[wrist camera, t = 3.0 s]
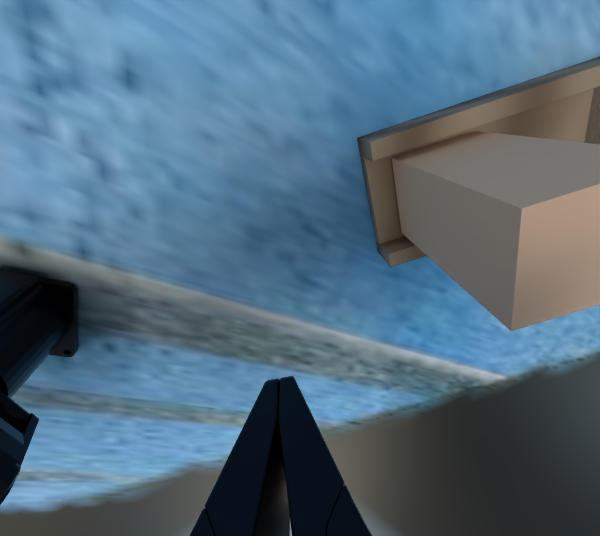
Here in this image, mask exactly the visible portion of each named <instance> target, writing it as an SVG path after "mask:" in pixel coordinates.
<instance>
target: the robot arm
mask: <svg viewBox="0 0 600 536" xmlns="http://www.w3.org/2000/svg"><path fill="white" fill-rule="evenodd" d="M65 289H66V290H68V291H69V292H67V291H66V290H65ZM77 350H78V329H77V288H76V287H75V286H74V285H73V284H70V283H66V282H61V281H56V280H50V279H45V278H40V277H35V276H30V275H25V274H20V273H14V272H9V271H4V270H0V505H1V503H2V502H3V501H4V499H5V498H6V496H7V495H8V493H9V492H10V490H11V488H12V486H13V484H14V482H15V479H16V478H17V476H18V475H19V472H20V468H21V464H22V461H23V459H24V456H25V454H26V451H27V449H28V446H29V444H30V441H31V439H32V436H33V434H34V431H35V429H36V426H37V424H38V421H39V418H37V417H36V416H35V415H34V414H32V413H31V414H29V413H28V412H27V411H25V410H24V409H23V408H22V407H20V406H19V405H18V404H17V403H15V402H14V401H13V400H12V399H10V398H11V397H12V396H13V395H14V394H15V393H16V391H17V390H18V389H19V388H20V387H21V386H22V384H23V383H24V382H25V381H26V380H27V379H28V378H29V376H30V375H31V374H32V373H33V372H34V371H35V369H36V368H37V367H38V366H39V365H40V364H41V363H42V361H43V360H44V359H45V358H46V357H47V356H48V355H56V356H63V357H72V356H74V355H75V353H76V352H77ZM205 508H206V509H203V510H202V512H201V514H200V516H199V518H198V520H197V522H196V524H195V526H194V528H193V530H192V532H191V534H190V536H289V535H290V534H289V533H290V532H289V531H290V521H291V529H292V536H372V535H371V533H370V531H369V529H368V528H367V526H366V524H365V523H364V520H363V518H362V516H361V514H360V513H359V511H358V509H357V507H356V505H355V503H354V501H353V499H352V497H351V495H350V492H349V490H348V489H347V486H345V483H344V480H343V478H342V476H341V474H340V472H339V470H338V468H337V466H336V464H335V462H334V460H333V457H332V455H331V453H330V451H329V449H328V447H327V445H326V443H325V441H324V439H323V437H322V435H321V433H320V430H319V428H318V426H317V424H316V422H315V420H314V418H313V416H312V414H311V412H310V410H309V408H308V405H307V403H306V401H305V399H304V397H303V395H302V393H301V391H300V389H299V387H298V385H297V383H296V381H295V379H294V377H293V376H289V377H284V378H281V379H280V380H279V379H272V380H268V381H266V382H265V384H264V386H263V388H262V390H261V392H260V394H259V396H258V398H257V400H256V402H255V404H254V406H253V408H252V410H251V412H250V414H249V416H248V418H247V420H246V422H245V425H244V427H243V429H242V431H241V433H240V435H239V437H238V439H237V441H236V443H235V445H234V447H233V449H232V451H231V453H230V455H229V457H228V459H227V461H226V463H225V465H224V467H223V469H222V472H221V474H220V476H219V478H218V480H217V482H216V484H215V486H214V488H213V490H212V492H211V494H210V496H209V498H208V500H207V502H206V504H205Z"/></svg>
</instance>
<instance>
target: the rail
mask: <svg viewBox="0 0 600 536" xmlns="http://www.w3.org/2000/svg"><path fill="white" fill-rule="evenodd" d="M599 86H600V57H598V58H595V59H592V60H589V61H586V62H583V63H580V64H577V65H574V66H571V67H568V68H565V69H562V70H559V71H556V72H553V73H550V74H547V75H544V76H541V77H538V78H535V79H532V80H529V81H526V82H523V83H520V84H517V85H514V86H511V87H508V88H505V89H502V90H499V91H496V92H493V93H490V94H487V95H484V96H481V97H478V98H475V99H472V100H469V101H466V102H463V103H460V104H457V105H455V106H452V107H449V108H446V109H443V110H440V111H437V112H434V113H431V114H428V115H425V116H422V117H419V118H416V119H413V120H410V121H407V122H404V123H401V124H398V125H395V126H392V127H389V128H386V129H383V130H380V131H377V132H374V133H371V134H368V135H365V136H362V137H359V138H357V139H358V145H359V150H360V156H361V161H362V167H363V172H364V178H365V183H366V189H367V194H368V200H369V205H370V211H371V216H372V222H373V227H374V233H375V238H376V244H377V249H378V252H379V254H380V255H381V256H382V257H383V258H384V260H385V261H386V262H387V263H388V265H389V266H390V267H392V266H395V265H398V264H402V263H405V262H408V261H411V260H414V259H418V258H421V257H424V256H427V255H426V254H425V253H423V252H422V251H421V250H420V249H419V248H418V247H417V246H416V245H414V244H413V243H412V242H411V241H410V240H409V239H408V238H407V237H406V236H404V235H403V234H402V232H401V225H400V217H399V210H398V202H397V195H396V187H395V179H394V172H393V164H392V158H394V157H397V156H400V155H403V154H406V153H409V152H412V151H415V150H418V149H421V148H424V147H427V146H430V145H433V144H436V143H439V142H442V141H445V140H448V139H451V138H454V137H457V136H460V135H463V134H466V133H469V132H473V131H480V132H489V133H499V134H508V135H517V136H527V137H536V138H545V139H555V140H564V141H573V142H582V143H584V141H585V135H586V130H587V124H588V119H589V113H590V107H591V102H592V96H593V91H594V88H596V87H599Z"/></svg>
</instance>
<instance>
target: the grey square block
mask: <svg viewBox="0 0 600 536" xmlns="http://www.w3.org/2000/svg"><path fill="white" fill-rule="evenodd" d="M584 143H592V144H600V86H599V87H596V88H594V91H593V96H592V102H591V107H590V113H589V119H588V124H587V130H586V135H585V141H584Z"/></svg>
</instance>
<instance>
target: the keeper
mask: <svg viewBox="0 0 600 536" xmlns="http://www.w3.org/2000/svg"><path fill="white" fill-rule="evenodd" d="M392 164H393V172H394V179H395V187H396V195H397V202H398V210H399V217H400V225H401V232H402V234H403V235H404V236H406V237H407V238H408V239H409V240H410V241H411V242H412V243H413V244H414V245H416V246H417V247H418V248H419V249H420V250H421V251H422V252H423V253H425V254H426V255H427V256H428V257H429V258H430V259H431V260H432V261H433V262H435V263H436V264H437V265H438V266H439V267H440V268H441V269H442V270H443V271H445V272H446V273H447V274H448V275H449V276H450V277H451V278H452V279H453V280H455V281H456V282H457V283H458V284H459V285H460V286H461V287H462V288H464V289H465V290H466V291H467V292H468V293H469V294H470V295H471V296H472V297H474V298H475V299H476V300H477V301H478V302H479V303H480V304H481V305H482V306H484V307H485V308H486V309H487V310H488V311H489V312H490V313H491V314H493V315H494V316H495V317H496V318H497V319H498V320H499V321H500V322H501V323H503V324H504V325H505V326H506V327H507V328H508V329H509V330H510V331H513V330H516V329H520V328H523V327H527V326H530V325H533V324H537V323H540V322H543V321H547V320H550V319H553V318H557V317H560V316H563V315H567V314H570V313H573V312H577V311H580V310H584V309H587V308H590V307H594V306H597V305H600V144H592V143H582V142H573V141H564V140H555V139H545V138H536V137H527V136H517V135H508V134H499V133H489V132H480V131H473V132H469V133H466V134H463V135H460V136H457V137H454V138H451V139H448V140H445V141H442V142H439V143H436V144H433V145H430V146H427V147H424V148H421V149H418V150H415V151H412V152H409V153H406V154H403V155H400V156H397V157H394V158H392Z"/></svg>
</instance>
